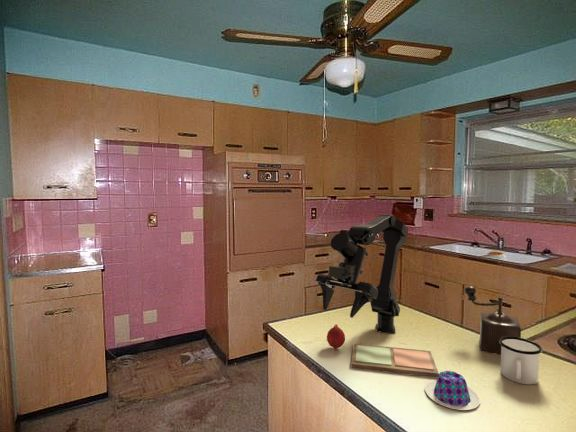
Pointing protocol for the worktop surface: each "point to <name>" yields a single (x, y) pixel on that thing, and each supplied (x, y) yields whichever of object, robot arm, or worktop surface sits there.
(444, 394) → the pudding
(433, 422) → the worktop surface
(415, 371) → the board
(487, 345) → the brown coffee grinder
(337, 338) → the onion
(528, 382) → the mug
